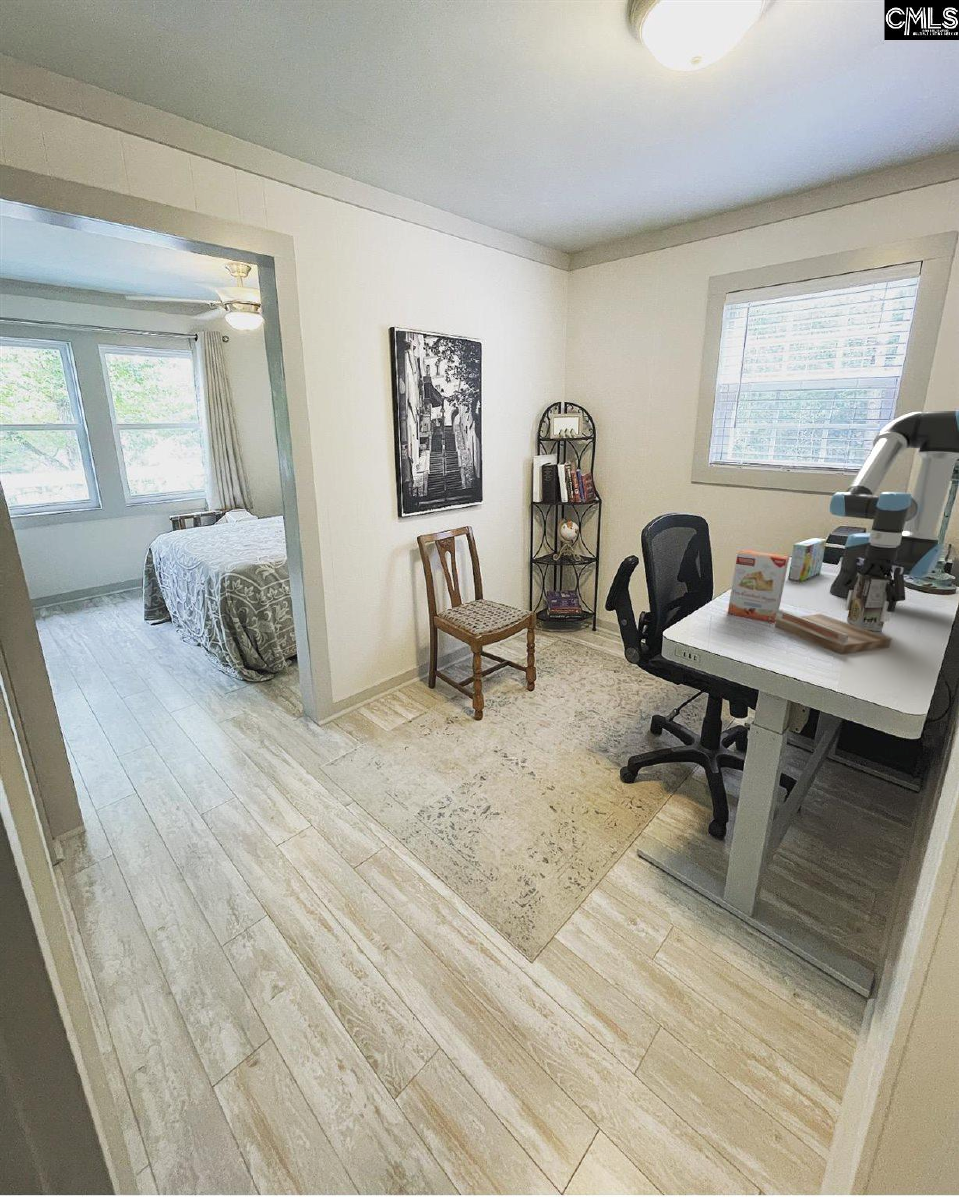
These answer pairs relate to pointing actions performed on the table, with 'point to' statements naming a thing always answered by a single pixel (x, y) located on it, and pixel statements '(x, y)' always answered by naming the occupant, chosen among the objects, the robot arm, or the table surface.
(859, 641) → the shelf board
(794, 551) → the snack box
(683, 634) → the table surface
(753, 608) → the cracker box
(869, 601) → the cookie box
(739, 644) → the table surface
